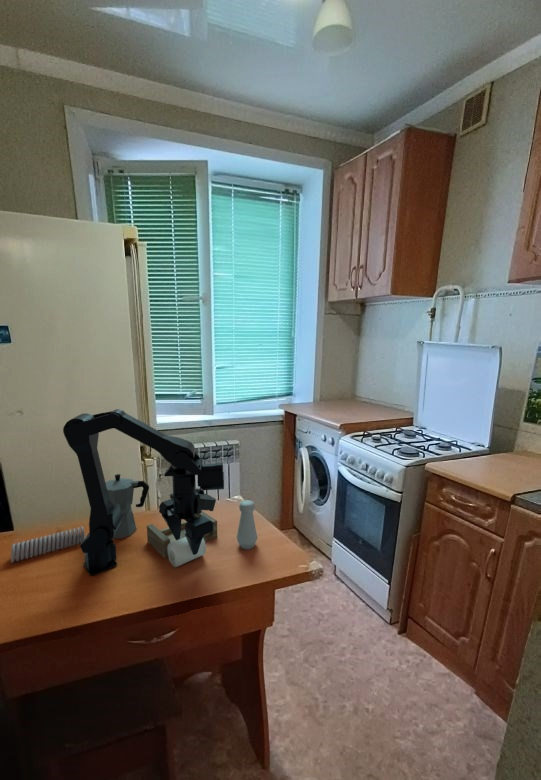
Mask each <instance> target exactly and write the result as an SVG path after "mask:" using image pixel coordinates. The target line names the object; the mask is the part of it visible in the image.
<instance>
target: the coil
mask: <svg viewBox="0 0 541 780" xmlns="http://www.w3.org/2000/svg"><path fill="white" fill-rule="evenodd" d="M85 538H86V534H85V528H84V526H82V525H81V526H80V527H79V526H78V527H76V528H72V529H71V528H70V529H68V530H63V531H62V530H61V531H60V532H56V533H52V534H48V535H44V536H40V537H39V538H38V537H36V538H34V539H33V538H31V539H30V540H29V539H27V540H26V541H25V540H22V541H21V542H19V541H18V542H17V543H12V545H11V549H10V551H11V552H10V563H15V562H19V561H23V560H24V559H26V560H28V559H29V558H33V557H38V556H41V555H42V554H43V555H45V554H47V553H49V554H50V553H51V552H52V553H53V552H55V551H59V550H62V549H67V548H68V547H69V548H70V547H72V546H76V545H77V546H79V545H81V544H82V542H83V541H84V539H85Z"/></svg>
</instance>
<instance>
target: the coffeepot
mask: <svg viewBox="0 0 541 780" xmlns="http://www.w3.org/2000/svg"><path fill="white" fill-rule="evenodd" d="M105 483H106V487H107V491H108V495H109V499H110V501H111V502H112V503H113V504H114V505H116V504H120V512H121V514H122V515H123V518H122V519H121V524H120V526H119V527H118V529H117V531H116V533H115V535H114V536H113V538H112V540H117V539H124V538H127V537H130V536H131V535H132V534H134V533H135V532H136V530H137V525H136V521H135V517H134V513H133V510H132V509H133V508H132V505H133V501H134V491H135V489H138V488H143V489H142V491H141V496H140V498H139V499H140V500H139V503H138V504H137V503H135V508H143V506H144V505H145V502H146V498H147V496H148V492H149V489H150V486H149V484H148V483H146V481H145V480H133V479H131V478H124V477H121V474H119V473H117V474H114V479H111V480H108V481H105Z"/></svg>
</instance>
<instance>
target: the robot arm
mask: <svg viewBox="0 0 541 780" xmlns="http://www.w3.org/2000/svg"><path fill="white" fill-rule="evenodd" d="M112 429H115V430H117V431H118V432H121V433H123V434H124V435H127V436H128V437H130V438H132V439H134V440H136V441H138V442H140V443H142V444H143V445H145V446H148V447H149V448H151V449H153V450H155V451H156V452H157V453H158V454H160V455H161V456H162V457H163V459H164V460H165V461H166V462H167V463H169V464H170V465H169V467H168V468H166V470H165V472H164V474H163V476H164V477H172V493H170V494H169V499H166V500H163V501H162V502H161V503H159V505H158V512H159V514H161V517H162V518H163V521H165V523H166V525H167V527H169V529H170V530H171V532H172V534H173V536H174V538H175V539H176V540H179V539H180V534H181V522H182V520H184V521H187V524H186V525H185V531H186V534H185V536H186V539H187V541H188V544H189V546H190V549H191V551H192V554H193V555H196V554H197V553H198V550H199V547H200V544H201V541H202V539H203V537H204V535H205V534H208V533H210V532H212V531H214V522H212V521H211V520H209V519H208V518H206V517H205V516H201V517H198V518H197V517H196V516H195V514H200V513H201V510H202V511H210V512H214V510H215V509H214V508H215V505H216V501H217V499H216V498H215V497H213V496H211V495H209V494H207V493H205V491H216V490H217V491H218V490H219V491H220V490H225V472H224V463H223V462H216V463H204V460H203V459H202V458H201V457H200V456H199V454H198V453H197V452H196V448H195V445H194V443H192V442H191V441H190V440H186V439H183V438H182V437H177V436H173V435H168V434H165V433H163V432H161V431H160V430H158V429H156V428H154V427H152V426H150V425H149V424H146V423H144V422H143V421H142V420H139V419H137V418H135V417H134V416H132V415H129V414H128V413H126V412H125V411H124V410H123V409H121V408H118V409H117V408H116V409H114V410H112V411H111V410H110V411H106V412H99V413H95V414H90V413H81V414H78V415H76V416H75V417H73V418H70V419H69V420H68V421H67V422H66V423H65V424H64V426H63V427H62V433H63V435H64V438H65V439H66V442H67V444H68V446H69V447H70V448H71V450H72V451H73V452H74V453H75V454H76V456H77V461H78V463H79V467H80V471H81V472H80V473H81V475H82V479H83V480H82V481H83V483H84V487H85V491H86V495H87V500H88V503H89V507H90V512H89V513H90V514H89V521H88V527H89V528H88V531H89V532H88V533H87V535H85V537H86V538H85V539H84V541H83V542H82V544H81V543H80V544H79V547H80V549H81V552H82V553H83V554H84V561H83V567H84V568H85V570H86V572H87V573H88V575H89V576H91V577H92V576H94V575H97V574H100V573H102V572H105V571H107V570H109V569H112V568H115V567H117V566H118V562H117V561H116V560H117V546H116V544H115V543H114V539H112V538H113V536H114V535H115V533H116V531H117V529H118V527H119V526H120V524H121V519H122V518H123V515H122V514H121V512H120V504H116V505H114V504H113V503H112V502H111V501H110V499H109V495H108V491H107V487H106V479H105V476H104V471H103V467H102V464H101V463H102V462H101V459H100V455H99V454H100V453H99V451H98V443H99V436H100V435H99V434H100V433H102V432H104V431H108V430H112ZM196 476H197V483H196ZM196 484H197V487H196ZM198 487H199V488H198Z"/></svg>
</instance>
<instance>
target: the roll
mask: <svg viewBox="0 0 541 780" xmlns="http://www.w3.org/2000/svg"><path fill="white" fill-rule="evenodd" d="M167 551H168V560H169V562H170V564H171V565H172V567H174V568H177V567H179V566H182V565H184V564H186V563H188V562H191V561H193V560H194V559H197V558H199V557H202V556H204V555H205V554H206V551H207V546H206V542H205V541H204V539H202V541H201V544H200V547H199V550H198V553H197V554H196V555H193V554H192V551H191V549H190V546H189V544H188V541H187V539H186V537H184V538H182V539H179V540H177V541H174V542H172V543H169V544H168V548H167Z"/></svg>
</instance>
